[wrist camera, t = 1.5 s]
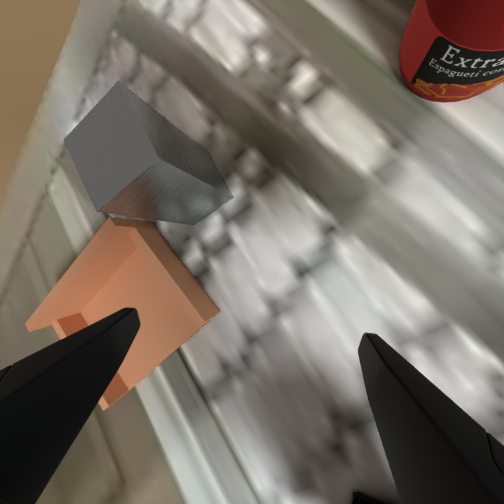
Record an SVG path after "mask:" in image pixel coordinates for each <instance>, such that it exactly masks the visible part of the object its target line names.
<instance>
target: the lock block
mask: <svg viewBox="0 0 504 504" xmlns="http://www.w3.org/2000/svg"><path fill="white" fill-rule="evenodd" d="M64 142H65V144H66V146H67V148H68V151H69V153H70V155H71V157H72V159H73V161H74V163H75V166H76V168H77V170H78V172H79V174H80V176H81V179H82V181H83V183H84V185H85V187H86V189H87V191H88V194H89V196H90V198H91V200H92V202H93V204H94V206H95V209H96V211H97V212H104V213H111V214H118V215H125V216H132V217H139V218H147V219H154V220H161V221H168V222H175V223H182V224H189V225H195V224H196V223H198V222H199V221H201V220H202V219H203V218H205V217H206V216H208V215H209V214H211V213H212V212H214V211H215V210H216V209H218V208H219V207H221V206H222V205H224V204H225V203H227V202H228V201H229V200H231V199H232V198H234V197H233V196H232V194H231V192H230V190H229V188H228V186H227V185H226V183H225V181H224V179H223V177H222V176H221V174H220V172H219V170H218V168H217V167H216V165H215V163H214V161H213V159H212V157H211V156H210V154H209V153H208V152H206V151H205V150H204V149H203V148H201V147H200V146H199V145H198V144H196V143H195V142H194V141H193V140H192V139H190V138H189V137H188V136H187V135H185V134H184V133H183V132H182V131H180V130H179V129H178V128H177V127H175V126H174V125H173V124H172V123H171V122H169V121H168V120H167V119H166V118H164V117H163V116H162V115H161V114H159V113H158V112H157V111H156V110H154V109H153V108H152V107H151V106H149V105H148V104H147V103H146V102H145V101H143V100H142V99H141V98H140V97H138V96H137V95H136V94H135V93H133V92H132V91H131V90H130V89H128V88H127V87H126V86H125V85H124V84H122V83H121V82H120V81H118V82H117V83H116V84H115V85H114V86H113V87H112V88H111V90H110V91H109V92H108V93H107V94H106V95H105V96H104V97H103V98H102V99H101V100H100V101H99V102H98V104H97V105H96V106H95V107H94V108H93V109H92V110H91V111H90V112H89V113H88V114H87V115H86V116H85V117H84V119H83V120H82V121H81V122H80V123H79V124H78V125H77V126H76V127H75V128H74V129H73V130H72V131H71V133H70V134H69V135H68V136H67V137H66V138H65V139H64Z"/></svg>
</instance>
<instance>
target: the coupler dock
mask: <svg viewBox="0 0 504 504" xmlns="http://www.w3.org/2000/svg"><path fill="white" fill-rule="evenodd" d="M125 307H132V308H136V309H137V311H138V315H139V319H140V323H141V325H140V329H139V331H138V333H137V335H136V337H135V339H134V341H133V343H132V345H131V347H130V349H129V351H128V353H127V355H126V357H125V359H124V361H123V363H122V364H121V366H120V368H119V370H118V371H117V373H116V374H115V376H114V378H113V379H112V381H111V382H110V384H109V386H108V387H107V389H106V391H105V392H104V394H103V395H102V397H101V399H100V400H99V404H100V406H101V407H102V409H103V411H104V410H105V409H106V408H108V407H109V406H110V405H112V404H113V403H114V402H115V401H117V400H118V399H119V398H121V397H122V396H123V395H124V394H126V393H127V392H128V391H129V390H131V389H132V388H133V387H134V386H135V385H136V384H137V383H139V382H140V381H141V380H142V379H143V378H144V377H145V376H147V375H148V374H149V373H150V372H151V371H152V370H153V369H155V368H156V367H157V366H158V365H159V364H160V363H161V362H163V361H164V360H165V359H166V358H167V357H168V356H169V355H171V354H172V353H173V352H174V351H175V350H176V349H178V348H179V347H180V346H181V345H182V344H183V343H184V342H186V341H187V340H188V339H189V338H190V337H191V336H192V335H194V334H195V333H196V332H197V331H198V330H199V329H200V328H202V327H203V326H204V325H205V324H206V323H207V322H208V321H210V320H211V319H212V318H213V317H214V316H215V315H216V314H218V313H219V312H220V310H219V309H218V308H217V306H216V305H215V304H214V302H213V301H212V300H211V299H210V297H209V296H208V295H207V293H206V292H205V291H204V289H203V288H202V287H201V286H200V284H199V283H198V282H197V280H196V279H195V278H194V276H193V275H192V274H191V272H190V271H189V270H188V269H187V267H186V266H185V265H184V263H183V262H182V261H181V259H180V258H179V257H178V256H177V254H176V253H175V252H174V250H173V249H172V248H171V246H170V245H169V244H168V243H167V241H166V240H165V239H164V237H163V236H162V235H161V233H160V232H159V231H158V230H157V228H156V227H155V226H154V224H153V223H152V222H145V221H137V220H129V219H121V218H113V217H109V218H108V219H107V220H106V221H105V223H104V224H103V225H102V227H101V228H100V229H99V230H98V232H97V233H96V234H95V236H94V237H93V238H92V239H91V241H90V242H89V243H88V244H87V246H86V247H85V248H84V250H83V251H82V252H81V253H80V255H79V256H78V257H77V258H76V260H75V261H74V262H73V264H72V265H71V266H70V267H69V269H68V270H67V271H66V273H65V274H64V275H63V276H62V278H61V279H60V280H59V281H58V283H57V284H56V285H55V287H54V288H53V289H52V290H51V292H50V293H49V294H48V295H47V297H46V298H45V299H44V301H43V302H42V303H41V304H40V306H39V307H38V308H37V309H36V311H35V312H34V313H33V315H32V316H31V317H30V318H29V320H28V321H27V322H26V324H25V325H26V327H27V329H28V330H29V332H31V331H34V330H38V329H41V328H44V327H47V326H51V325H52V326H53V327H54V329H55V331H56V332H57V334H58V336H59V337H60V339H63V338H65V337H67V336H69V335H71V334H73V333H75V332H77V331H79V330H81V329H83V328H85V327H87V326H89V325H91V324H93V323H95V322H97V321H99V320H101V319H103V318H105V317H107V316H109V315H111V314H113V313H115V312H117V311H119V310H121V309H123V308H125Z"/></svg>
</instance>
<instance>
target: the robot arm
mask: <svg viewBox="0 0 504 504" xmlns="http://www.w3.org/2000/svg"><path fill="white" fill-rule="evenodd" d="M140 325H141V323H140V319H139V315H138V311H137V309H136V308H132V307H125V308H123V309H121V310H119V311H117V312H115V313H113V314H111V315H109V316H107V317H105V318H103V319H101V320H99V321H97V322H95V323H93V324H91V325H89V326H87V327H85V328H83V329H81V330H79V331H77V332H75V333H73V334H71V335H69V336H67V337H65V338H63V339H61V340H59V341H57V342H55V343H53V344H51V345H49V346H47V347H45V348H43V349H41V350H39V351H37V352H35V353H33V354H31V355H29V356H28V357H26V358H24V359H22V360H20V361H18V362H16V363H14V364H13V365H10V366H8V367H6V368H4V369H2V370H0V504H35V503H36V502H37V500H38V498H39V497H40V495H41V494H42V492H43V490H44V489H45V487H46V486H47V484H48V482H49V481H50V479H51V477H52V476H53V474H54V473H55V471H56V469H57V468H58V466H59V465H60V463H61V461H62V460H63V458H64V457H65V455H66V453H67V452H68V450H69V448H70V447H71V445H72V444H73V442H74V440H75V439H76V437H77V436H78V434H79V432H80V431H81V429H82V428H83V426H84V424H85V423H86V421H87V420H88V418H89V416H90V415H91V413H92V411H93V410H94V408H95V407H96V405H97V403H98V402H99V400H100V399H101V397H102V395H103V394H104V392H105V391H106V389H107V387H108V386H109V384H110V382H111V381H112V379H113V378H114V376H115V374H116V373H117V371H118V370H119V368H120V366H121V364H122V363H123V361H124V359H125V357H126V355H127V353H128V351H129V349H130V347H131V345H132V343H133V341H134V339H135V337H136V335H137V333H138V331H139V329H140ZM358 355H359V360H360V364H361V369H362V374H363V379H364V383H365V388H366V392H367V397H368V400H369V404H370V407H371V410H372V413H373V416H374V419H375V422H376V426H377V429H378V432H379V435H380V438H381V441H382V444H383V447H384V451H385V454H386V457H387V460H388V463H389V466H390V469H391V472H392V476H393V479H394V482H395V485H396V488H397V491H398V494H399V497H400V501H401V504H504V446H503V445H502V444H501V443H500V442H499V441H498V440H497V439H495V438H494V437H493V436H492V435H491V434H490V433H486V430H485V429H484V428H483V427H482V426H480V425H479V424H478V423H477V422H476V421H475V420H474V419H473V418H471V417H470V416H469V415H468V414H467V413H466V412H465V411H463V410H462V409H461V408H460V407H459V406H458V405H457V404H456V403H454V402H453V401H452V400H451V399H450V398H449V397H448V396H446V395H445V394H444V393H443V392H442V391H441V390H440V389H438V388H437V387H436V386H435V385H434V384H433V383H432V382H431V381H429V380H428V379H427V378H426V377H425V376H424V375H423V374H421V373H420V372H419V371H418V370H417V369H416V368H415V367H414V366H412V365H411V364H410V363H409V362H408V361H407V360H406V359H404V358H403V357H402V356H401V355H400V354H399V353H398V352H396V351H395V350H394V349H393V348H392V347H391V346H390V345H389V344H387V343H386V342H385V341H384V340H383V339H382V338H381V337H379V336H378V335H377V334H374V333H364V334H363V336H362V339H361V342H360V345H359V348H358ZM358 500H360V501H358ZM350 504H385V503H383V502H381V501H378V500H376V499H374V498H371V497H369V496H367V495H364V494H362V493H360V492H353V493H352V495H351V501H350Z"/></svg>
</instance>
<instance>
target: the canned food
mask: <svg viewBox="0 0 504 504" xmlns="http://www.w3.org/2000/svg"><path fill="white" fill-rule="evenodd" d="M400 69H401V73H402V77H403V79H404V81H405V82H406V84H407V86H408V87H409V88H410V89H411V90H412V91H413V92H414V93H416V94H417V95H419V96H421V97H422V98H425V99H428V100H431V101H436V102H456V101H461V100H465V99H469V98H471V97H474V96H476V95H479V94H481V93H483V92H485V91H487V90H489V89H491V88H493V87H495V86H497V85H498V84H500V83H502V82H503V81H504V0H416V2H415V5H414V8H413V10H412V13H411V15H410V18H409V20H408V23H407V25H406V28H405V31H404V34H403V36H402V40H401V47H400Z"/></svg>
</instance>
